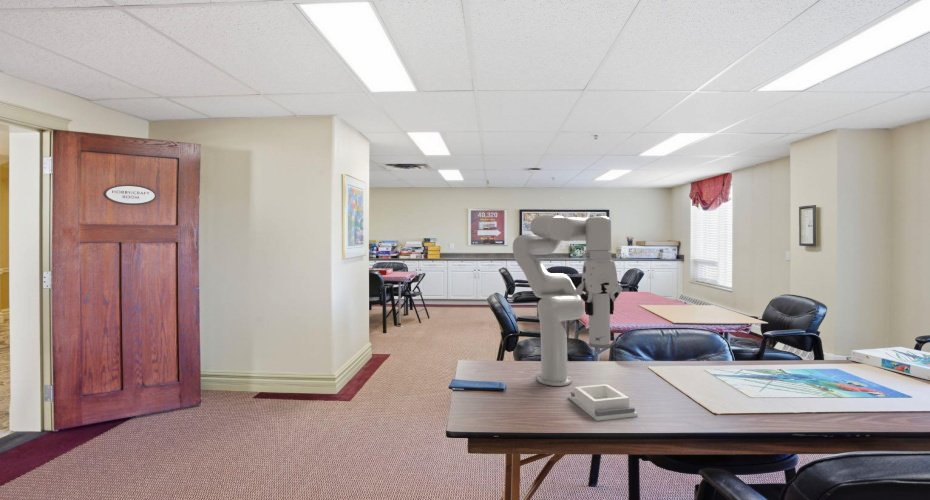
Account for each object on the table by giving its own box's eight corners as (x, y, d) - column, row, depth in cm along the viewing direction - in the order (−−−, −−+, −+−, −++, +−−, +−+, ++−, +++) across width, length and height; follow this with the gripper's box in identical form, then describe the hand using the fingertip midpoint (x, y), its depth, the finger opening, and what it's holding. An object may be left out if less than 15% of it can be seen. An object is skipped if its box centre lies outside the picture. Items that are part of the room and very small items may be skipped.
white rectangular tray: (568, 397, 133) (568, 384, 133) (604, 394, 135) (604, 381, 135) (596, 420, 115) (596, 405, 115) (637, 416, 118) (637, 400, 117)
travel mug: (600, 349, 121) (599, 283, 120) (584, 345, 126) (583, 281, 126) (615, 347, 123) (614, 282, 123) (599, 342, 129) (598, 280, 129)
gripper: (578, 257, 119) (579, 317, 120) (630, 256, 123) (631, 314, 123) (567, 256, 127) (568, 313, 127) (617, 255, 130) (617, 311, 130)
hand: (599, 313), depth 125 cm, fingers closed on travel mug, 6 cm apart
